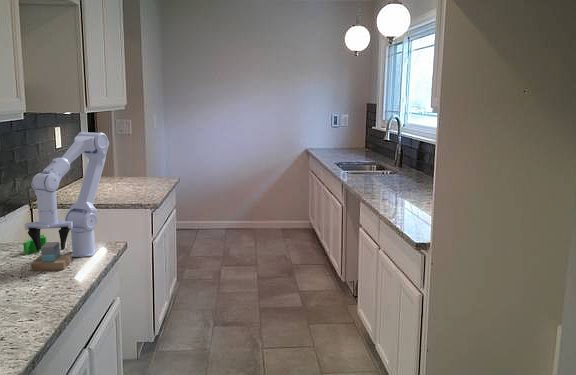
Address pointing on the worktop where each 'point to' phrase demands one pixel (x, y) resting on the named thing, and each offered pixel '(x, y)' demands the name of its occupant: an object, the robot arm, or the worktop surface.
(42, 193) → the robot arm
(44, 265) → the tan flat block
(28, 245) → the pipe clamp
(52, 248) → the block
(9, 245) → the worktop surface
